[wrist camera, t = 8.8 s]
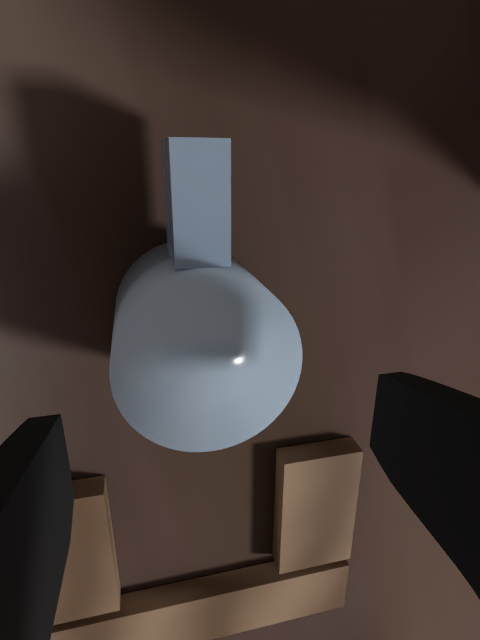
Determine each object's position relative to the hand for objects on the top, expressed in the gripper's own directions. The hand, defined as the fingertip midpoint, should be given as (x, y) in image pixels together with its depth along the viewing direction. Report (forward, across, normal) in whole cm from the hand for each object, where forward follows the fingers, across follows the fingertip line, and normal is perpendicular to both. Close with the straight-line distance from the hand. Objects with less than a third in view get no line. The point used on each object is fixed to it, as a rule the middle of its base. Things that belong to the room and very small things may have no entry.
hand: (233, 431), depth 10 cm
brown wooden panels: (+8, 0, +13) cm, 15 cm away
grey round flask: (+9, 0, -2) cm, 9 cm away
